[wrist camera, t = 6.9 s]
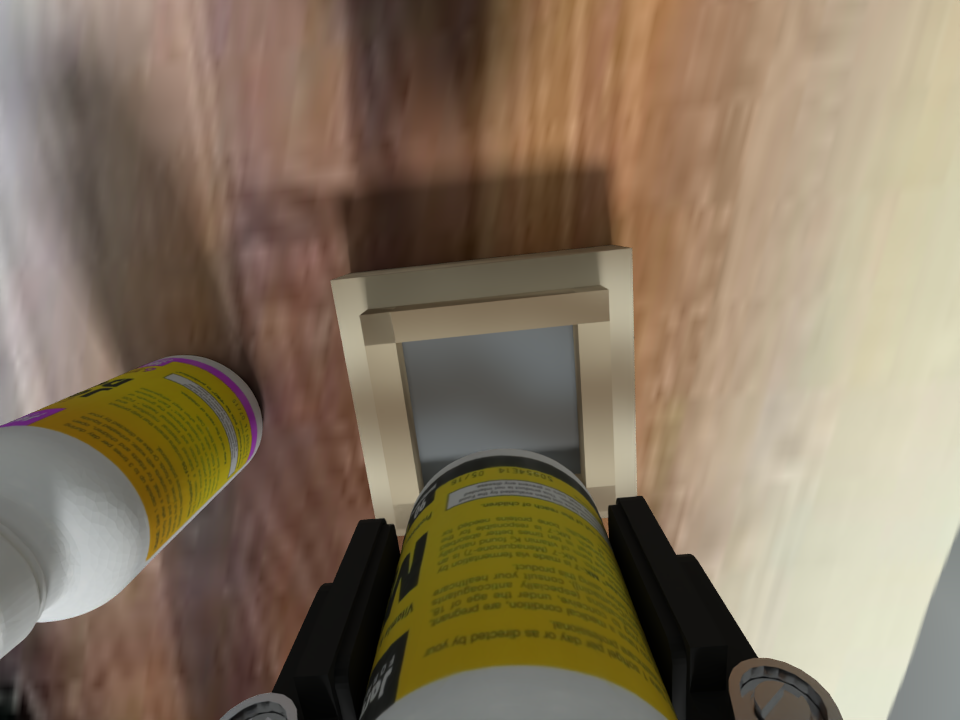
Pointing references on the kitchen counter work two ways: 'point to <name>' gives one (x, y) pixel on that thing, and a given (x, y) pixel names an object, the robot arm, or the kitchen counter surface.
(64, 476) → the supplement bottle
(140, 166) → the kitchen counter surface
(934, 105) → the kitchen counter surface
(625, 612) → the supplement bottle
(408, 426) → the plinth
